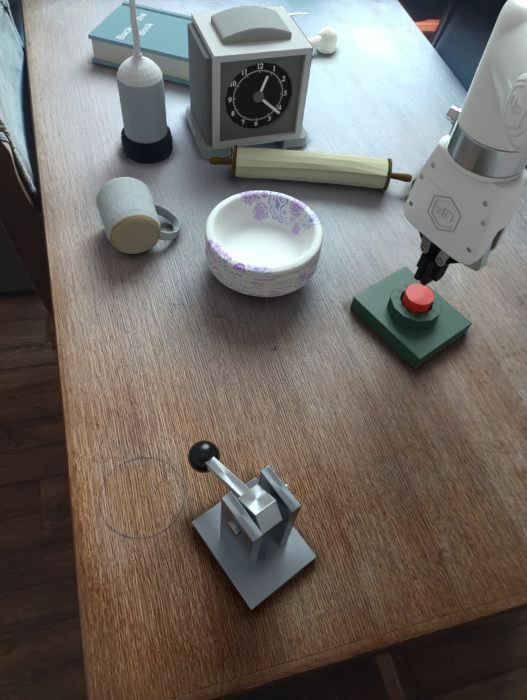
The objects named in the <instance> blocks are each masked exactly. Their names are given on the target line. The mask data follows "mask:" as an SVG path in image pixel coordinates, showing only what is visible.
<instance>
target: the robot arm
mask: <svg viewBox="0 0 527 700" xmlns="http://www.w3.org/2000/svg"><path fill="white" fill-rule="evenodd" d="M445 118H446V120H448V121H450V124H451V129H450V130H449V134H446V135H443V136H442V137H441V138H440V139H439V140H438V142H437V143H436V145H435V146H434V147H433V149H432V151H431V152H430V154H429V155H428V157H427V159H426V160H425V162H424V164H423V165H422V167H421V169H420V171H419V173H418V175H417V177H416V178H417V179H416V178H415V179H416V181H415V183H414V185H413V187H412V189H411V192H410V194H409V196H408V198H406V202H405V204H404V208H403V215H404V217H405V219H406V220H407V221H408V223H409V224H410V225H411V226H413V228H414V229H416V230H417V231H418V233H419V237H420V240H421V241H420V245H419V250H420V251H421V255H420V257H419V260H418V261H417V262H416V263H417V264H416V267H417V269H416V271H415V273H414V274H415V276H414V278H415V279H416V280H419V281H420V283H421V284H422V285H423V286H425V285H428V284H430V283H431V282H435V283H437V282H438V281H440V280H441V279H443V277H444V275H445V274H446V272H447V270H448V268H449V267H450V265H455V264H462V265H463V266H465V267H466V268H469V269H471V270H473V271H475V272H478V271H480V270H481V269H483V268H485V267H486V266H487V264H488V260H489V256H490V254H491V252H492V251H494V250H495V249H496V248H497V247H498V246H499V244H500V243H501V241H502V239H503V238H504V235H505V234H506V232H507V230H508V228H509V226H510V224H511V222H512V220H513V218H514V215H515V213H516V211H517V208H518V206H519V204H520V201H521V198H522V196H523V193H524V189H525V186H526V183H527V169H525V168H526V166H527V0H506V2H505V3H504V5H503V6H502V8H501V10H500V12H499V14H498V16H497V19H496V21H495V24H494V26H493V29H492V31H491V33H490V36H489V38H488V41H487V44H486V46H485V49H484V51H483V54H482V56H481V59H480V61H479V63H478V66H477V68H476V71H475V73H474V75H473V78H472V81H471V83H470V85H469V88H468V91H467V93H466V96H465V98H464V101H463V104H462V106H461V107H458V106H456V105H452V106H451V107H450V108H449V109H448V111H447V112H446V115H445Z"/></svg>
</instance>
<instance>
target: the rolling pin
mask: <svg viewBox="0 0 527 700" xmlns="http://www.w3.org/2000/svg"><path fill="white" fill-rule="evenodd" d="M232 148H233V149H232V157H231V158H229V157H228V158H227V157H210V159H209V158H208V159H209V160H208V163H209V165H212V166H223V165H227V166H230V165H231V169H230V171H231V172H230V173H231V179H236V178H245V179H263V180H279V181H294V182H306V183H307V182H308V183H317V184H318V183H319V184H330V185H343V186H352V187H360V188H361V187H362V188H368V189H369V188H370V189H379V190H381V191H382V192H386V191H387V190H388V188H389V185H390V182H391V179H392V180H397V181H400V182H404V183H410V182H412V181H413V175H411V174H410V173H404V172H403V173H400V172H393V159H392V158H390V157H388V158H382V157H381V158H380V157H379V158H378V157H370V156H363V155H362V156H361V155H353V154H352V155H351V154H343V153H342V154H341V153H330V152H321V151H307V150H295V149H283V148H282V149H281V148H264V147H247V146H239V147H238V146H237V145H234V147H232Z"/></svg>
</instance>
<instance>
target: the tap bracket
mask: <svg viewBox="0 0 527 700" xmlns="http://www.w3.org/2000/svg"><path fill="white" fill-rule="evenodd" d="M244 484H245V485H246V486H247V487H248V488H249V489H251V488H253V487H254V486H256V485H257V484H258V485H259V486H261V487H262V488H263V489H264V490H265V491H266V492H267V493H269V494H270V495H271V496H272V497H273V498H274V499H275V500H276V501H277V504H278V507H279V510H280V513H281V517H282V520H281V521H280V522H279V523H277V524H276V525H275V526H273V527H272V528H271V529H269V530H268V531H267V532H265V533H264V534H262V532H261V531H260V530H259V528H258V527H257V526H256V524H255V523H254V522H253V520H252V519H251V517H250V516H249V515H248V513H247V512H246V511H245V509H244V508H243V507H242V505H241V504H240V503H239V501H238V498H237V497H236V496H234V494H233V493H232V492H230V491H229V492H228V493H227V494H224V495H223V496H221V498H220V499H221V500H220V501H219V502H218V503H216V504H214V505H213V506H212V507H210V508H209V509H207V510H206V511H205V512H203V513H202V514H200V515H198V516H197V517H195V518H194V520H192V521H191V527H192V528H193V530H194V532H195V533H196V534H197V535H198V537H199V538H200V540H201V541H202V543H203V544H204V546H205V548H206V549H207V551H208V552H209V553H210V555H211V556H212V557H213V559H214V561H215V562H216V564H217V565H218V566H219V568H220V569H221V571H222V573H223V574H224V575H225V577H226V579H228V581H229V583H230V584H231V586H232V587H233V588H234V590H235V592H237V595H238V596H239V597H240V599H241V601H242V602H243V604H244V605H245V607H246V608H247V609H248V611H249V612H250V613H252V612H253V611H254V610H256V608H258V607H259V606H261V605H262V604H263V603H264V602H265V601H267V600H268V599H269V598H270V597H272V596H273V595H274V594H275V593H276V592H278V591H279V590H280V589H281V588H283V586H285V585H286V584H287V583H289V582H290V581H291V580H292V579H294V578H295V577H296V576H297V575H298V574H300V573H301V572H302V571H303V570H304V569H306V568H307V567H309V565H311V564H312V563H313V562H315V560H316V559H317V557H318V556H317V554H316V553H315V552H314V550H313V549H312V547H311V546H309V544H308V543H307V541H306V540H305V539H304V538H303V536H302V535H301V533H299V531H298V529H296V527H295V526H294V525H295V523H296V519H297V518H298V515H299V513H300V510H301V508H302V504H301V503H300V502H299V501H298V499H297V498H296V497H295V496H294V494H293V492H292V490H291V488H290V487H289V485H288V484H287V483H286V482H284V481H282V479H281V478H280V477H279V475H278V474H277V473H276V471H274V469H273V468H272V467H271V466H270V465H269V464H268V465H267V466H265V467H264V468H263V469H261V470H260V472H259V476H258V478H257V477H256V476H255V477H253V478H252V479H250V480H249V481H247V482H246V483H244Z"/></svg>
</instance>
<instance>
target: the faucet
mask: <svg viewBox="0 0 527 700" xmlns="http://www.w3.org/2000/svg"><path fill="white" fill-rule="evenodd" d="M288 14H289V15H290V16H291V17H294V16H295V17H296V16H304V15H305V16H306V15H309V14H310V13H309V12H288ZM307 39H308V40H309V41H310V43H311V44H312V46H313V49H314V48H317V51H318V52H319V53H322V54H325V55H331V54H333V53H335V50H336V46H337V42H338V34H337V32H336V30H335V29H334V28H333V27H329V26H327V27H323V28H322V29H321V30H320V31H319V32H318V34H317V35H316V36H313V37H308V38H307Z"/></svg>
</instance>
